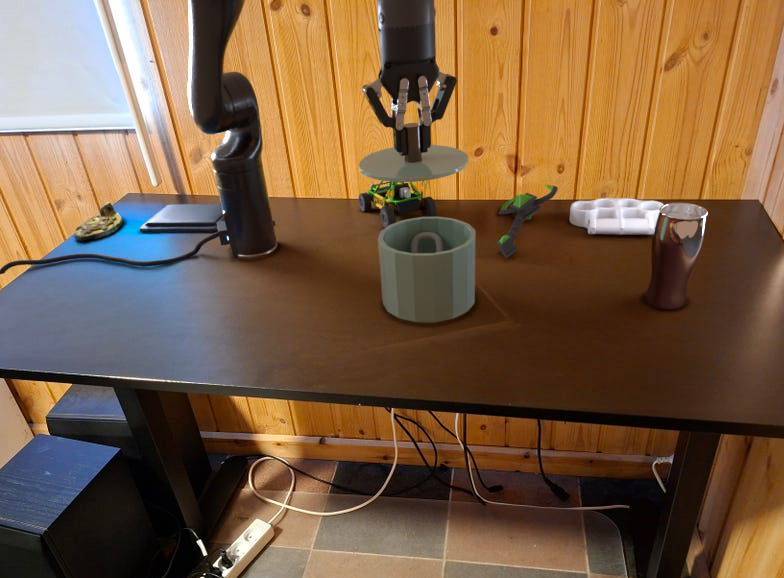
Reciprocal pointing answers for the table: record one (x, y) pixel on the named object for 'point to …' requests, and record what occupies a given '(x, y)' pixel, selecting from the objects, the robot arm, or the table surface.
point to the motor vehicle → (397, 201)
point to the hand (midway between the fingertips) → (412, 152)
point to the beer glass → (674, 253)
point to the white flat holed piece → (616, 216)
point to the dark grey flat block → (185, 218)
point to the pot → (427, 269)
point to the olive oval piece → (100, 224)
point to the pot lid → (413, 160)
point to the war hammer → (521, 216)
